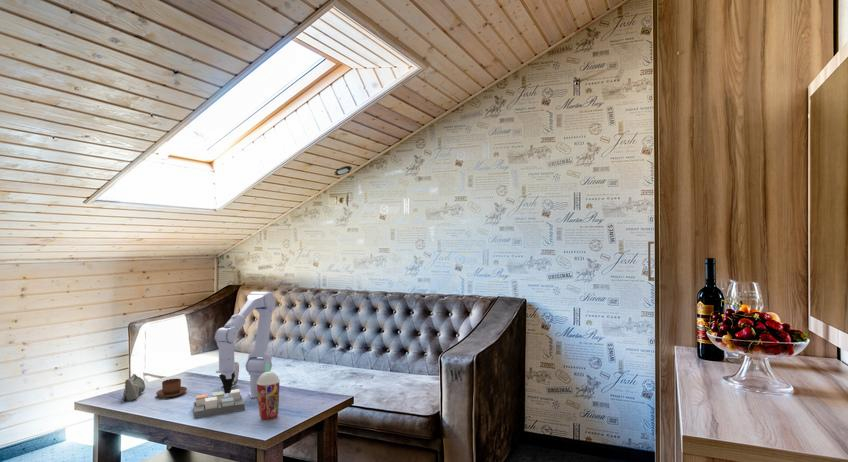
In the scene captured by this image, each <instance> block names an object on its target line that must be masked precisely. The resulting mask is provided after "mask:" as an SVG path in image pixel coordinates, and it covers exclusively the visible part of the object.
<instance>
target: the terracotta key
mask: <svg viewBox="0 0 848 462" xmlns="http://www.w3.org/2000/svg"><path fill="white" fill-rule="evenodd" d="M205 398H209V395H208V393H203V394H196V395H195V402H196V406H202V405H205Z"/></svg>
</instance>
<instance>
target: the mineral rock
mask: <svg viewBox="0 0 848 462" xmlns="http://www.w3.org/2000/svg"><path fill="white" fill-rule="evenodd" d="M145 383H146V382H145V380H144V379H143V378H142V377H140V376H138V375H137V374H135V373H133V374H132V376H130V377H128V378H126V379H125V382H124V390H123V394H122V396H123V401H134V400H137V399H138V398H139V397H140V395H141V394H142V393H143V392H144V391H145V389H146V384H145Z"/></svg>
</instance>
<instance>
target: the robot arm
mask: <svg viewBox="0 0 848 462" xmlns="http://www.w3.org/2000/svg"><path fill="white" fill-rule="evenodd" d="M275 300H276V297H275V296H274V293H273V292H271V291H254V290H253V291H251V292H249V294H248V295H247V296H246V301H245V303H244V304H243V306H242V307H241V309H240V310H239V312H238V313H235V314H233V315H231V317H230V319H228V321H227V322H226V323H225V324H224V326H223V327H219V328H218V329H217V330H216V332H215V335H214V340H215V342H216V347H218V369H216V370H215V374H218V377H219V379H220V381H221V383H222V388H223V392H224V395H225V394H226V395H227V394H228V393H231V390H232V388H233V387H232V383H233V380H234V378H235V373H234V371H235V363H234V362H235V342H236V340H237V339H238V335H239V331H240V330H241V329H242V327H243V326H244V325H245V324H246V318H248V317H249V315H250V314H251V313H252V312H253V311H254V310H255V311H256V312H257V313H258V314H259V315H258V321H257V322H258V323H257V328H256V334H255V335H256V336H255V342H254V347H253V348H254V349H253V351H252V352H250V353H249V354H248V357H247V360H246V363H245V370H246V372H247V373H248V375H249V378H250V379H249V380H250V383H249V384H250V386H249V387H250V391H249V392H248V395H249V397H250V399H255V398H258V392H257V381H258V379H259V377H260V375H261V374H263V373H264V372H267V364H269V371H270V372H271V370H272V367H273V364H272V355H271V354H270V353H269V352H268V345H269V338H270V332H271V325H272V317H273V311H274V307H275V302H276V301H275Z"/></svg>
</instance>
